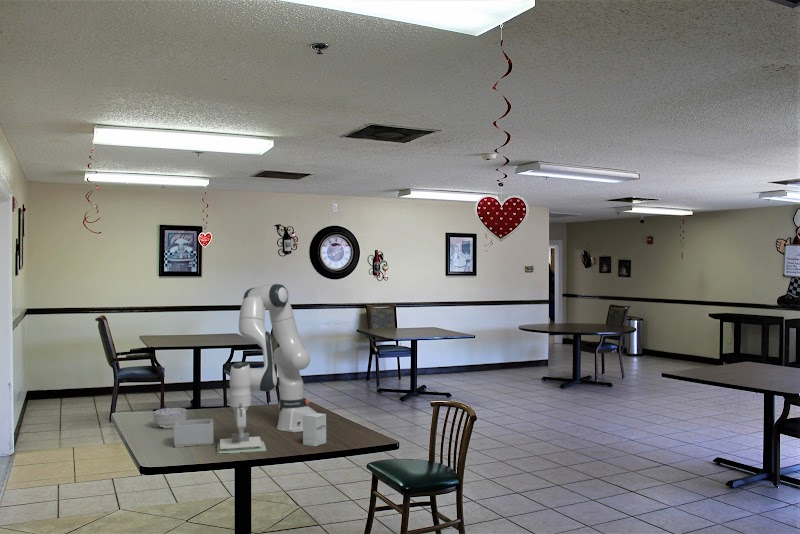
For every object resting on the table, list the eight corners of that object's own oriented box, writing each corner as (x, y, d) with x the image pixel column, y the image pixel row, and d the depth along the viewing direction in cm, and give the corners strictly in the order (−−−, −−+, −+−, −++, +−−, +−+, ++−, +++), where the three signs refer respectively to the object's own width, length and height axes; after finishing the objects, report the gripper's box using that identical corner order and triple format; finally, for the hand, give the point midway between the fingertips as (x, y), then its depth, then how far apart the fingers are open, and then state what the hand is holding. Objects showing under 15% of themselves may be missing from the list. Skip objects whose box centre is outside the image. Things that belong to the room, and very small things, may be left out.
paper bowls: (176, 430, 325) (176, 413, 326) (147, 429, 328) (147, 412, 329) (192, 424, 340) (192, 407, 340) (164, 423, 343) (164, 407, 344)
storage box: (213, 438, 308) (213, 418, 308) (213, 445, 296) (213, 424, 296) (175, 441, 304) (175, 420, 304) (174, 447, 292) (174, 426, 292)
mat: (263, 442, 301) (263, 440, 301) (266, 450, 285) (266, 449, 285) (215, 445, 296) (215, 444, 296) (216, 454, 280) (216, 453, 280)
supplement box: (316, 446, 292) (315, 416, 292) (302, 444, 296) (302, 415, 296) (326, 443, 298) (326, 413, 298) (313, 441, 302) (313, 412, 302)
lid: (259, 442, 299) (259, 429, 299) (261, 448, 287) (261, 435, 287) (219, 444, 294) (219, 432, 295) (220, 451, 282) (220, 438, 282)
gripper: (249, 405, 282) (249, 439, 281) (246, 397, 301) (247, 428, 301) (233, 406, 280) (233, 440, 280) (232, 398, 300) (232, 430, 299)
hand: (240, 434), depth 291 cm, fingers open, 8 cm apart
